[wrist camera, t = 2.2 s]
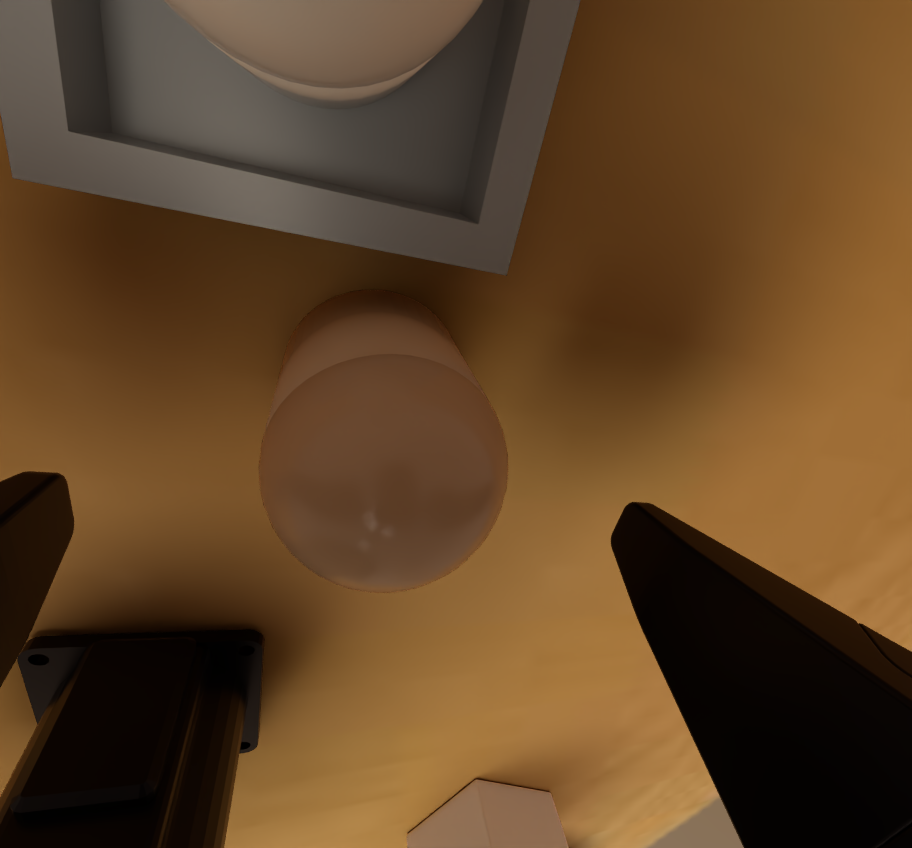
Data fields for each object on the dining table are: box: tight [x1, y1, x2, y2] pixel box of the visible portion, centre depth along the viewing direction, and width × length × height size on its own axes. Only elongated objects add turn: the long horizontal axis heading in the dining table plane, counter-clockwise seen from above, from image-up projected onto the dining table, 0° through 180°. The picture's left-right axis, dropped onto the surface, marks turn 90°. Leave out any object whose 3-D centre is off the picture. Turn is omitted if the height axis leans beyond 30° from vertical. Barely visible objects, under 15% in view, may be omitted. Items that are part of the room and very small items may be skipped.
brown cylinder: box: [259, 290, 508, 593], centre depth 9 cm, size 4×4×6 cm
